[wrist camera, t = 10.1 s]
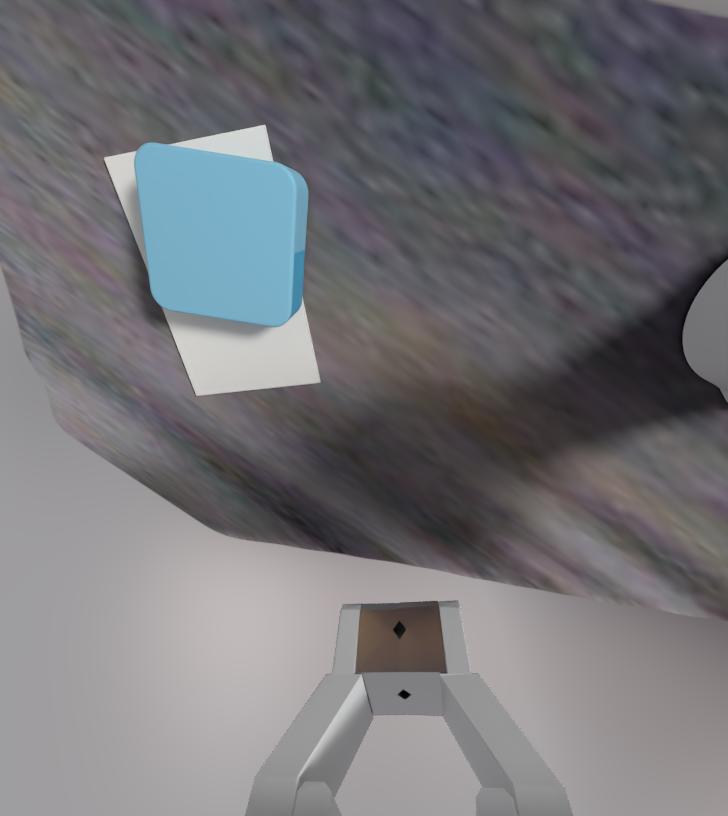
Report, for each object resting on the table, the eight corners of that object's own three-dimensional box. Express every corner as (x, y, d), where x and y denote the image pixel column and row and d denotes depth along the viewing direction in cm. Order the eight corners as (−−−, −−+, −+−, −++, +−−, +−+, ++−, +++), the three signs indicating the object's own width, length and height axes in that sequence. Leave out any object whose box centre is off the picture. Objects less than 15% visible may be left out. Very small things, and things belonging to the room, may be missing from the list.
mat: (265, 125, 29) (264, 124, 28) (320, 381, 39) (320, 382, 38) (106, 158, 30) (103, 157, 30) (197, 394, 40) (196, 395, 40)
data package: (310, 172, 30) (164, 148, 30) (297, 165, 26) (128, 138, 26) (301, 318, 35) (178, 298, 35) (289, 330, 31) (151, 308, 31)
